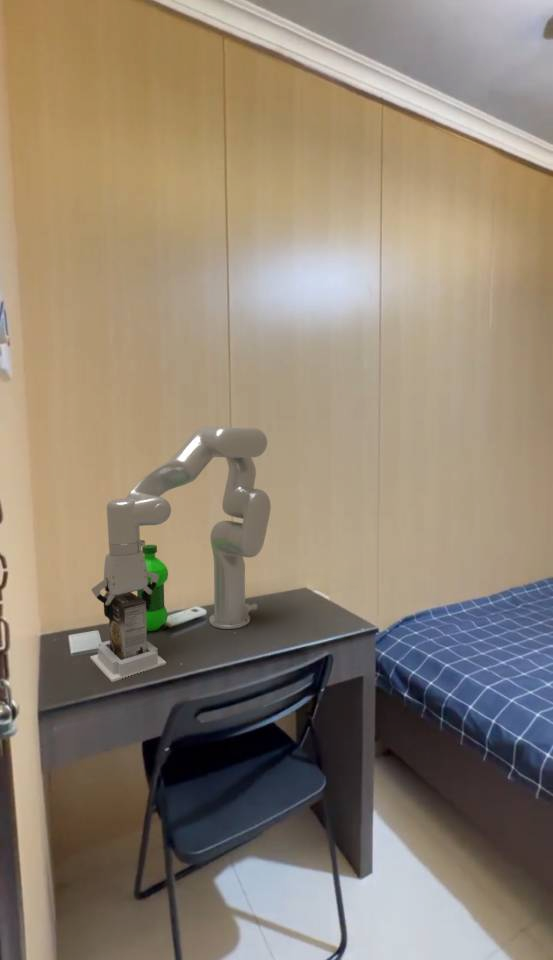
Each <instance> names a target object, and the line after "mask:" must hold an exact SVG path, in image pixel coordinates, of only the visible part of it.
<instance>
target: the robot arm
mask: <svg viewBox="0 0 553 960" xmlns="http://www.w3.org/2000/svg"><path fill="white" fill-rule="evenodd" d="M267 446H268V439H267V436H266V434H265V432H263V431H262V430H261V429H259V428H255V427H251V428H250V427H228V426H204V427H201V428H198V429H197V430H196V431H195V432H194V433H193V434H192V435H191V436H190V437H189V439H188V440H187V441H186V442H185V443H184V444H183V446H182V447H181V448H179V450H178V451H177V452H176V454H175V455H174V456H173V457H172V458H171V459H170V460H169V461H168V462H165V463H164V464H162V465H161V466H159V467H158V468H156V469H154V470H152V471H151V472H150V473H148V474H147V475H145V476H144V477H143V478H142V479H141V480H139V481H138V483H137V484H135V486H134V487H133V488H132V489H131V491H130V492H129V493H128V494H127V496H126V497H125V498H117V499H116V498H115V499H111V500H110V501H109V502H107V505H106V517H107V518H106V519H107V520H106V521H107V522H106V523H107V533H108V534H107V537H108V538H107V540H108V553H107V554H106V555H105V560H104V568H103V580H102V581H100V582H99V583H98V584H96V585H95V586H94V587H92V588H91V592H92V594H93V595H94V597H95V598H96V599H97V600H98V601H100V602H101V603H103V612H104V613H103V615H104V617H106V618H107V619H108V620H109V619H110V620H113V605H112V604H111V601H112V600H113V598H114V597H115V596H117V595H122V594H126V593H130V592H131V593H133V592H137V591H138V590H141V589H142V590H143V592H142V599H143V600H144V601H146V609H147V610H149V609H150V605H151V596H150V594H152V590H153V589H154V588H155V586H156V583H157V581H158V579H159V575H158V574H156V573H152V572H149V571H147V567H146V562H145V558H144V554H143V551H142V546H144V545H146V541H145V540H144V539H141V537H140V536H141V534H140V527H141V526H142V527H143V526H158V525H161V524H163V523H165V522H167V520H168V519H169V518H170V516H171V514H172V507H171V504H170V502H169V501H168V500H167V499H166V498H164V497H162V495H164V494H165V493H166V492H168V491H170V490H173V489H175V488H179V487H183V486H186V485H188V484H190V483H192V482H194V481H196V479H197V478H198V477H199V475H200V474H201V473H202V471H203V470H205V468H206V467H207V465H208V464H210V462H211V461H212V460H213V459H214V458H225V460H226V462H227V466H228V474H227V480H226V483H225V489H224V493H223V497H222V498H223V499H222V503H221V504H222V505H221V506H222V511H223V512H224V514H226V515H228V516H230V517H233V518H238V519H243V520H242V522H237V521H233V520H221V521H218V522H217V523H215V524H214V526H213V527H212V528H211V531H210V537H209V539H210V545H211V550H212V555H213V581H214V582H213V588H214V590H213V593H214V596H213V597H214V598H213V599H214V600H213V603H214V606H213V607H214V608H213V609H214V612H213V613H212V614H211V615H210V616H209V621H208V622H209V624H210V625H211V626H212V627H214V628H218V629H224V630H234V629H240V628H242V627H245V626H247V625H248V624H250V621H251V616H250V615H249V613H250V612H252V611H257V610H258V609H259V607H258V604H257V603H252V604H250V603H246V564H245V558H247V559H248V558H249V559H250V558H255V557H256V556H258V554H260V552H261V550H262V549H263V547H264V542H265V538H266V534H267V529H268V526H269V521H270V516H271V515H270V514H271V508H272V507H271V500H270V496H268V494H267V492H265V491H264V490H262V489H259V488H254V487H255V482H256V478H257V477H256V475H257V470H256V465H255V462H254V460H253V458H257V457H260V456H262V455H263V454H264V453H265V451H266V449H267ZM148 577H151V578H152V579H151V582H150V583H149V584H148ZM102 590H104V591H105V594H104V595H102V593H101V591H102Z"/></svg>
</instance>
